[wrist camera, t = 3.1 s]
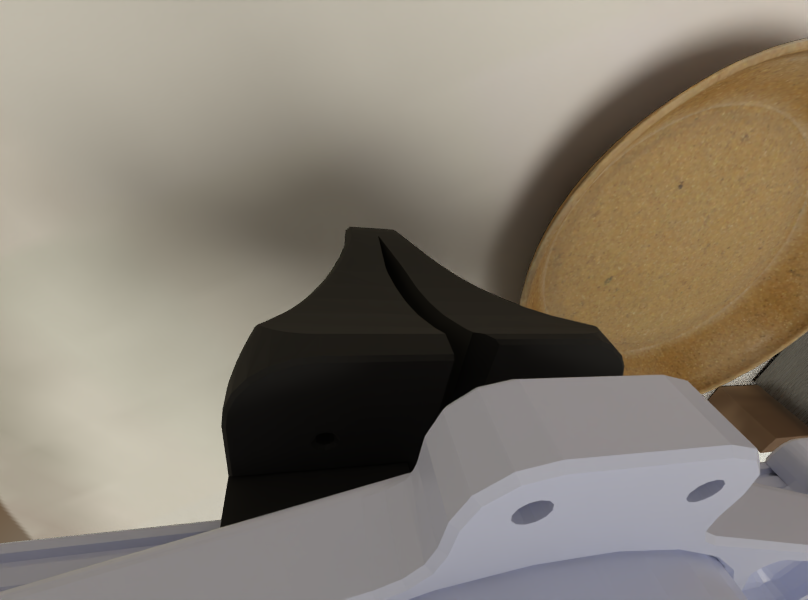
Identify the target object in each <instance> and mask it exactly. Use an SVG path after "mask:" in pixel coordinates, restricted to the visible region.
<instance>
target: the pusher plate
mask: <svg viewBox="0 0 808 600" xmlns="http://www.w3.org/2000/svg"><path fill="white" fill-rule="evenodd" d="M755 383H756V384H757V385H759V386H760V387H761V388H762V389H763V390H765V391H766V392H767V393H768V394H769V395H771V396H772V397H773V398H774V399H775V400H777V401H778V402H779V403H780V404H781V405H783V406H784V407H785V408H786V409H788V410H789V411H790V412H791V413H792V414H794V415H795V416H796V417H797V418H798V419H800V420H801V421H802V422H803V423H804V424H806V425H807V426H808V331H807V332H806V333H805V334H804V335H802V336H801V337H799V338H798V339H797V340H796V341H794V342H793V343H792V344H790V345H789V346H787V347H786V348H785V349H784V350H783V351H782V352H781V353H780V354H779V355H778V356H777V357H776V358H775V359H774V361H773V362H772V363H771V364H770V365H769V366H768V367H767V368H766V369H765V371H764V372H763V373H762V374H761V375H760V376H759V377H758V378H757V379H756V380H755Z"/></svg>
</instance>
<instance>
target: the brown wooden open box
mask: <svg viewBox="0 0 808 600" xmlns="http://www.w3.org/2000/svg"><path fill="white" fill-rule="evenodd" d="M708 401H709V402H710V403H711V404H712V405H713V406H714V407H715V408H716V409H717V410H718V411H719V412H720V413H721V414H722V415H723V416H724V417H725V418H726V419H727V420H728V421H729V422H730V423H731V424H732V425H733V426H734V427H735V428H736V429H737V430H738V431H739V432H740V433H742V434H743V435H744V436H745V437H746V438H747V439H748V440H749V441H750V442H751V443H752V444H753V445H754V446H755V447H756V448H757V450H758V451H759V452H760V453H764V452H773V451H774V450H775V449H776V448H777V447H779V446H780V445H782V444H783V443H785V442H787V441H789V440H792V439H796V438H807V437H808V426H807V425H806V424H804V423H803V422H802V421H801V420H800V419H798V418H797V417H796V416H795V415H794V414H792V413H791V412H790V411H789V410H788V409H786V408H785V407H784V406H783V405H781V404H780V403H779V402H778V401H777V400H775V399H774V398H773V397H772V396H771V395H769V394H768V393H767V392H766V391H765V390H763V389H762V388H761V387H760V386H759V385H746V386H722V387H719V388H718V389H717V390H716V391H715V392H714V394H713V395H712V396H711V397H710V398H709V400H708Z"/></svg>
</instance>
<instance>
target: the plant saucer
mask: <svg viewBox="0 0 808 600" xmlns="http://www.w3.org/2000/svg"><path fill="white" fill-rule="evenodd" d="M519 305H521V306H524V307H526V308H529V309H533V310H536V311H539V312H542V313H545V314H548V315H552V316H556V317H560V318H564V319H568V320H573V321H577V322H581V323H585V324H589V325H593V326H596V327H598V328H599V330H600V331H601V332H602V333H603V334H604V335H605V336H606V338H607V339H608V340H609V341H610V342H611V343H612V344H613V346H614V347H615V348H616V349H617V350H618V351H619V352H620V354H621V355H622V358H623V362H624V366H625V367H624V373H623V376H631V375H666V376H670V377H674V378H678V379H682V380H686V381H688V382H689V383H690V384H691V385H692V386H693V387H694V388H695V389H696V390H697V391H698V392H699V393H700V394H704V393H706V392H709V391H711V390H714V389H716V388H718V387H720V386H722V385H724V384H726V383H728V382H730V381H732V380H734V379H736V378H737V377H739V376H741V375H743V374H745V373H747V372H749V371H751V370H752V369H754V368H756V367H758V366H759V365H761V364H762V363H764V362H766V361H767V360H769V359H770V358H772V357H773V356H775V355H776V354H777V353H779V352H781V351H782V350H783V349H785V348H786V347H787V346H789V345H790V344H792V343H793V342H794V341H796V340H797V339H798V338H799V337H801V336H802V335H804V334H805V333H806V332H807V331H808V38H804V39H800V40H796V41H792V42H788V43H785V44H781V45H778V46H775V47H772V48H769V49H766V50H764V51H761V52H758V53H756V54H753V55H751V56H748V57H746V58H744V59H742V60H739V61H737V62H735V63H733V64H731V65H729V66H727V67H725V68H723V69H721V70H719V71H717V72H716V73H714V74H712V75H711V76H709V77H707V78H705V79H703V80H702V81H700V82H698V83H697V84H695V85H693V86H692V87H690V88H688V89H687V90H685V91H684V92H682V93H681V94H679V95H677V96H676V97H674V98H673V99H671V100H670V101H668V102H667V103H665V104H664V105H663V106H661V107H660V108H658V109H657V110H655V111H654V112H653V113H651V114H650V115H649V116H647V117H646V118H644V119H643V120H642V121H641V122H639V123H638V124H637V125H636V126H634V127H633V128H632V129H631V130H629V131H628V132H627V133H626V134H625V135H624V136H623V137H622V138H620V139H619V140H618V141H617V142H616V143H615V144H614V145H613V146H612V147H611V148H610V149H609V150H608V151H607V152H606V153H605V154H604V155H603V156H602V157H601V158H600V159H599V160H598V161H597V162H596V163H595V164H594V165H593V166H592V167H591V168H590V169H589V170H588V172H587V173H586V174H585V175H584V176H583V177H582V178H581V180H580V181H579V182H578V183H577V185H576V186H575V187H574V188H573V189H572V191H571V192H570V194H569V195H568V196H567V198H566V199H565V201H564V202H563V203H562V205H561V206H560V208H559V209H558V211H557V212H556V214H555V216H554V217H553V219H552V221H551V222H550V224H549V225H548V227H547V229H546V231H545V233H544V235H543V237H542V239H541V241H540V243H539V245H538V247H537V249H536V251H535V254H534V256H533V259H532V261H531V264H530V267H529V269H528V272H527V276H526V279H525V283H524V287H523V290H522V294H521V298H520V303H519Z"/></svg>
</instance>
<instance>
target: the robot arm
mask: <svg viewBox="0 0 808 600" xmlns="http://www.w3.org/2000/svg"><path fill="white" fill-rule="evenodd" d="M624 367H625V366H624V362H623V358H622V355H621V354H620V352H619V351H618V350H617V349H616V348H615V347H614V346H613V344H612V343H611V342H610V341H609V340H608V339H607V338H606V336H605V335H604V334H603V333H602V332H601V331H600V330H599V328H598V327H596V326H593V325H589V324H585V323H581V322H577V321H573V320H568V319H564V318H560V317H556V316H552V315H548V314H545V313H542V312H539V311H536V310H533V309H529V308H526V307H524V306H521V305H518V304H515V303H512V302H510V301H507V300H505V299H503V298H500V297H498V296H496V295H493V294H491V293H489V292H487V291H484V290H482V289H480V288H478V287H476V286H474V285H473V284H471V283H469V282H467V281H465V280H463V279H461V278H460V277H458V276H456V275H455V274H453V273H452V272H450V271H449V270H447V269H446V268H444V267H443V266H441V265H440V264H438V263H437V262H435V261H434V260H432V259H431V258H430V257H428V256H427V255H426V254H424V253H423V252H422V251H421V250H419V249H418V248H417V247H415V246H414V245H413V244H412V243H410V242H409V241H408V240H407V239H405V238H404V237H403V236H402V235H400V234H399V233H397V232H396V231H394V230H390V229H375V228H360V227H349V228H348V229H347V230H346V234H345V245H344V248H343V250H342V253H341V255H340V257H339V259H338V261H337V262H336V264H335V266H334V267H333V269H332V270H331V272H330V273H329V275H328V276H327V277H326V279H325V280H324V281H323V282H322V283H321V284H320V285H319V287H317V288H316V289H315V290H314V291H313V292H312V293H311V294H310V295H309V296H308V297H307V298H306V299H305V300H303V301H302V302H301V303H299V304H298V305H296V306H295V307H293V308H292V309H290V310H288V311H287V312H285V313H283V314H281V315H278V316H276V317H274V318H272V319H270V320H268V321H266V322H263V323H261V324H258V325H257V326H256V327H255V328H254V329H253V331H252V333H251V335H250V336H249V338H248V340H247V342H246V344H245V345H244V347H243V349H242V352H241V354H240V356H239V358H238V360H237V362H236V365H235V367H234V370H233V372H232V375H231V377H230V380H229V383H228V387H227V391H226V396H225V401H224V406H223V412H222V425H221V426H222V433H223V440H224V447H225V454H226V461H227V468H228V475H229V477H228V483H227V489H226V495H225V501H224V507H223V513H222V519H221V520H215V521H206V522H196V523H187V524H178V525H168V526H159V527H150V528H140V529H131V530H121V531H112V532H103V533H93V534H84V535H74V536H65V537H56V538H46V539H37V540H28V541H19V542H9V543H0V600H808V437H807V438H796V439H792V440H789V441H787V442H785V443H783V444H782V445H780V446H779V447H777V448H776V449H775V450H774V451H773V452H772V453H771V454H770V455H769V456H768V457H767V458H766V461H765V462H760V460H759V455H758V450H757V448H756V447H755V446H754V445H753V444H752V443H751V442H750V441H749V440H748V439H747V438H746V437H745V436H744V435H743V434H742V433H740V432H739V431H738V430H737V429H736V428H735V427H734V426H733V425H732V424H731V423H730V422H729V421H728V420H727V419H726V418H725V417H724V416H723V415H722V414H721V413H720V412H719V411H718V410H717V409H716V408H715V407H714V406H713V405H712V404H711V403H710V402H709V401H708V400H707V399H706V398H705V397H704V396H703V395H702V394H700V393H699V392H698V391H697V390H696V389H695V388H694V387H693V386H692V385H691V384H690V383H689V382H688V381H686V380H682V379H678V378H674V377H670V376H666V375H631V376H623V373H624Z"/></svg>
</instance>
